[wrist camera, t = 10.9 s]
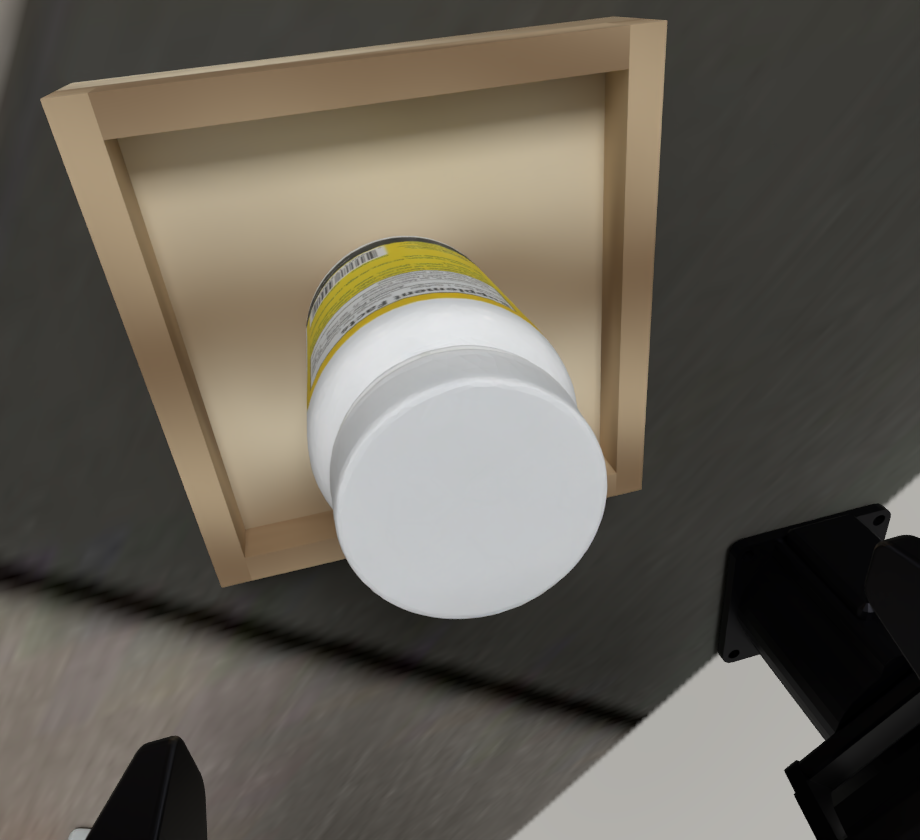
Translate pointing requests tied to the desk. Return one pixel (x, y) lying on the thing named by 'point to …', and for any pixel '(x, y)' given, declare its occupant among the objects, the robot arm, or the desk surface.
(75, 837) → the skincare box
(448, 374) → the supplement bottle
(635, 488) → the wooden tray
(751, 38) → the desk surface
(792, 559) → the robot arm
